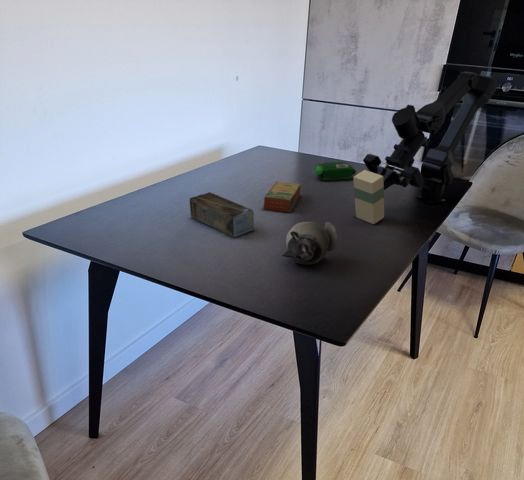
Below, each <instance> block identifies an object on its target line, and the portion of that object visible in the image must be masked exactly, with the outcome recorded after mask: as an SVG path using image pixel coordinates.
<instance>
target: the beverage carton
mask: <svg viewBox="0 0 524 480" xmlns="http://www.w3.org/2000/svg"><path fill="white" fill-rule="evenodd" d="M189 210H190V217H191V218H192V219H193V220H196V221H197V222H200V223H202V224H204V225H207V226H209V227H211V228H213V229H215V230H217V231H219V232H221V233H224V234H226V235H228V236H230V237H232V238H237V237H239V236H242V235H244V234H247V233H250V232H252V231H254V229H255V227H254V225H255V219H254V218H255V217H254V215H255V212H254V210H253V209H251V208H249V207H245V206H244V205H241V204H240V203H237V202H234V201H232V200H230V199H227V198H225V197H224V196H223V197H222V196H220V195H218V194H216V193H213V192H210V191H209V192H206V193H203V194H199V195H196V196H192V197H190V198H189Z"/></svg>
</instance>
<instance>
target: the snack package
mask: <svg viewBox="0 0 524 480" xmlns="http://www.w3.org/2000/svg"><path fill="white" fill-rule="evenodd" d="M313 173H314V174H315V175H316V177H317V178H319V179H320V180H322V181H325V182H326V181H336V180H337V181H338V180H340V181H341V180H349V179H351V178H352V177H353V176H355V175H356V174H357V170H356V168H354V167H353V166H352V165H351V164H349V163H347V162H345V161H333V162H331V161H330V162H320V163H317V164H316V165H315V167H314V169H313Z"/></svg>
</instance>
